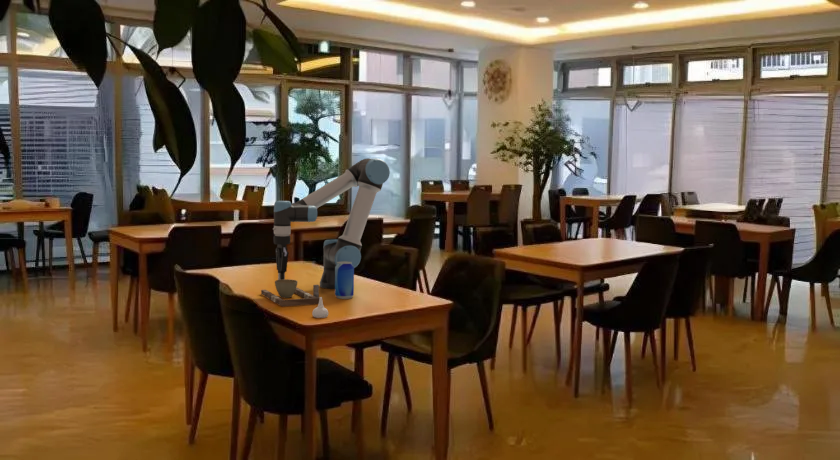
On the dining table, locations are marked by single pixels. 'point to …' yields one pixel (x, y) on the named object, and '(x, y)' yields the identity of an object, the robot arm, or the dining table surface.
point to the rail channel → (294, 302)
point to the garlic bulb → (320, 310)
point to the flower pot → (286, 287)
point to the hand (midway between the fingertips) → (281, 286)
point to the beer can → (344, 280)
